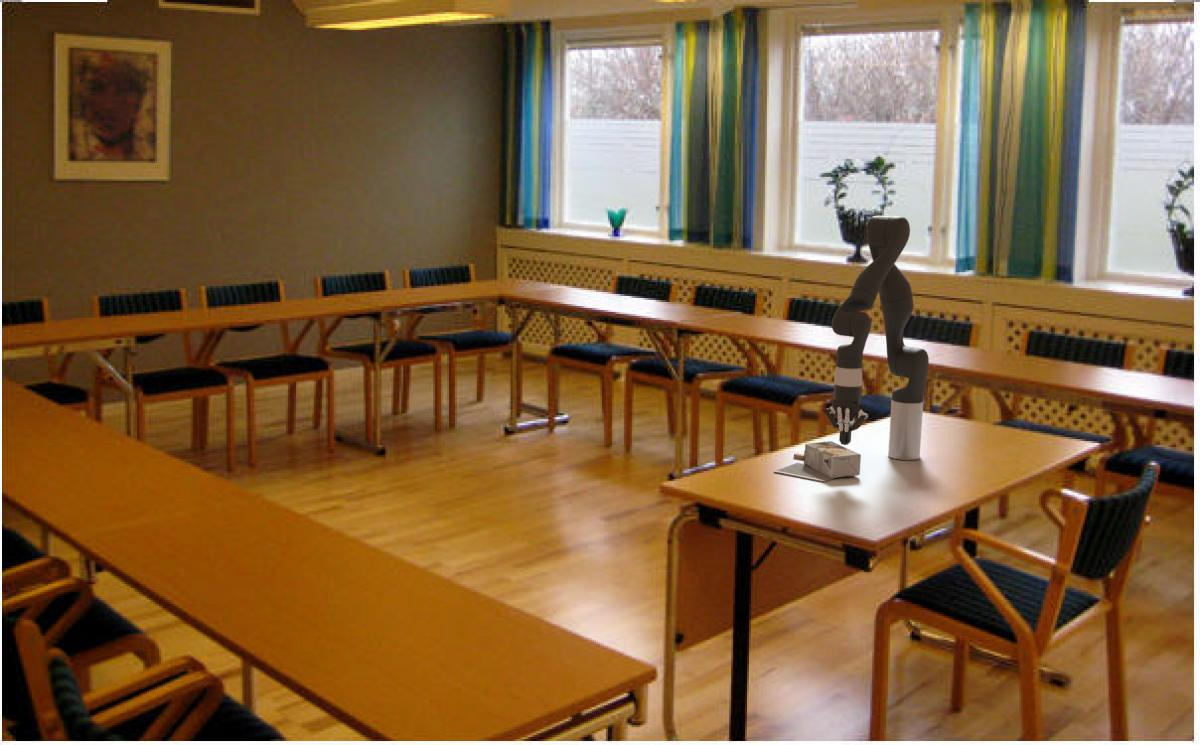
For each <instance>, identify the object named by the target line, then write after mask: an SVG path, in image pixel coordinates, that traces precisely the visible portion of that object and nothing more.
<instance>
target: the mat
mask: <svg viewBox="0 0 1200 745" xmlns="http://www.w3.org/2000/svg"><path fill="white" fill-rule="evenodd" d="M773 473H774V474H778V475H784V476H789V477H794V478H799V479H805V480H809V481H815V482H820V483H826V482H829V481H832V480H834V479H835V478H831V477H829V476H827V475H825V474H823V473H821V472H819V471H817V470H815V469H813V468H811V467H809V466H807V465H805V464H804V462H799V461H798V462H796V463H793V464H790V465H787V466H785V467H782V468H779V469H776V470H773Z"/></svg>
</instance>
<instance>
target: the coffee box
mask: <svg viewBox="0 0 1200 745" xmlns="http://www.w3.org/2000/svg"><path fill="white" fill-rule="evenodd" d="M804 445H805V446H804V448H805V449H804V451H803V453H804V460H803V463H804V464H805V465H807V466H809V467H811V468H813V469H815V470H817V471H819V472H821V473H823V474H825V475H827V476H829V477H831V478H834V479H837V478H845V477H846V478H847V477H856V476H860V474H861V473H860V472H861V462H862V461H861V458H862V455H861V454H860V453H858V452H856V451H854V450H852V449H850V448H847V447H846V446H844V445H842V444H838V443H836V442H833V440H832V441H819V442H811V443H805V444H804Z"/></svg>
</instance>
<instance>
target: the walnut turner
mask: <svg viewBox="0 0 1200 745" xmlns="http://www.w3.org/2000/svg"><path fill="white" fill-rule="evenodd" d="M793 458H794V459H797V460H801V461H804V454H803V453H799V452H796V453H794V454H793Z"/></svg>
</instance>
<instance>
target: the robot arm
mask: <svg viewBox="0 0 1200 745" xmlns="http://www.w3.org/2000/svg"><path fill="white" fill-rule="evenodd" d="M910 227H911V226H910V223H909V220H908V219H907V218H906V217H904V216H898V215H874V216H872V217H871V216H870V218H869V219H868V222H867V226H866V239H867V244H868V248H869V252H870V256H871V258H872V262H871V263H870V264H868V265H867V266H866V267H865V268H864V269H863V270H861V272H860V273H859V274H858V276H857V277H856V280H855V281H854V283H853V286H852V288H851V291H850V293H849V294H848V297H846V298H845V300H844V301H843V302H842V304H841V305H840V306H838V308H837V309H836V311H835V313H834V314H833V316H832V320H831V329H832V331H833V333H835V334H836V335H838V336H841V337H842V336H843V337H849V338H853V340H852V342H851V343H847V344H846V343H845V344H842V345H841V344H840V345H839V346H838V347H837V350H836V361H835V362H836V363H835V372H834V380H833V381H834V382H833V383H834V384H833V401H832V402H831V406H829V407H828V408H825V409H824V413H825V416H826V417H827V418H828V419H829V420H828V421H830V424H831V425H832V427H833V428H834V429H838V430H839V441H838V442H839V443H840V445H842V446H848V445H849V444H850V443H851V442H852V432H854V431H856V430H859V428H860V427H861V426H862V425H863V423H864V422H866V420H867V419H868V418H869V416H870V414H868V413H866V412H864V411H863V406H862V403H861V401H862V392H863V391H862V389H863V388H862V387H863V358H864V357H863V356H864V350H865V346H866V343H867V341H868V337H869V335H870V332H871V329H872V321H871V320H872V319H871V317H870V315H869V314H868V313H866V312H867V311H869V310H870V309H872V308H873V306H874V305H875V302H876V300H877V296H879V302H880V307H881V312H882V318H883V324H884V332H885V333H884V334H885V342H886V343H885V344H886V346H885V347H886V358H887V359H886V360H887V366H888V370H889V372H890V374H891V375H893V376H896V377H899V378H904V379H906V378H907V379H908V382H907V385H905V386H903V387H898V388H894V389H893V390H892V392H891V402H890V403H891V404H890V418H889V419H890V421H889V437H888V452H887V453H888V455H887V456H888V457H889V458H892V459H895V460H900V461H901V460H902V461H915V460H919V459H920V457H921V441H922V429H923V428H922V427H923V413H924V397H925V394H926V390H927V383H928V381H927V380H928V374H929V363H930V360H929V354H928V352H927V351H926V350H925V349H924V348H919V347H913V346H907V345H905V342H904V329H905V327H906V325H907V323H908V321H909V320H910V317H911V316H912V313H913V312H914V297H913V290H912V286H911V284H910V282H909V281H908V278H907V277H906V276H905V275H904V274H903V272H902V271H901V270H900V269H899V268H898V266H897V265H896V264H895V263H896V262H897V260H898V258H900V256H901V253H903V251H904V250H905V247H906V246H907V244H908V242H909V238H910V235H911V234H910V233H911V228H910ZM856 417H857V420H856V421H855V419H856Z"/></svg>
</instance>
